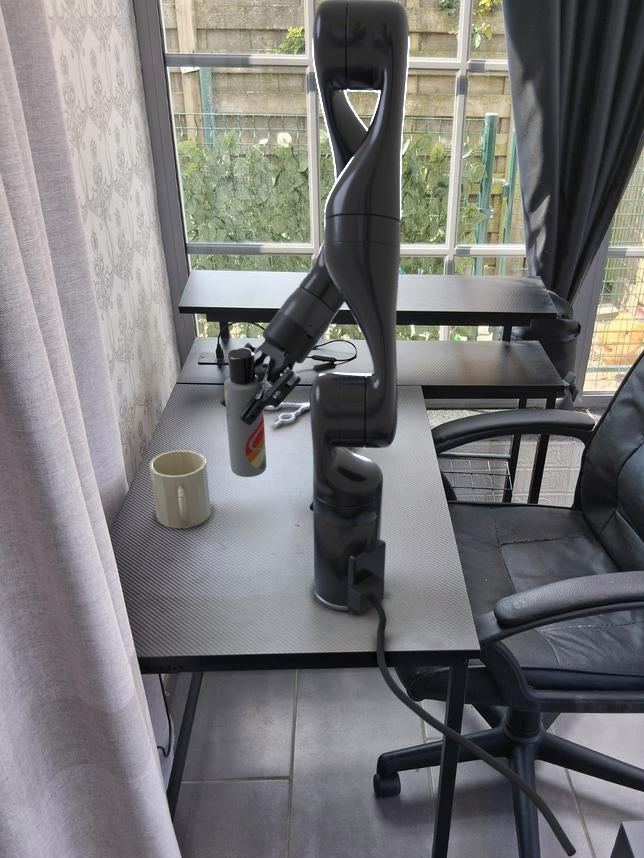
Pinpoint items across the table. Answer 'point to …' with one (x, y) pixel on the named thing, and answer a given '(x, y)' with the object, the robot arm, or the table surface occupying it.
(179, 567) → the table surface
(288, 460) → the table surface
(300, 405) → the scissors
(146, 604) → the table surface
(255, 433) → the lotion bottle
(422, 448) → the table surface
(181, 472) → the mug
